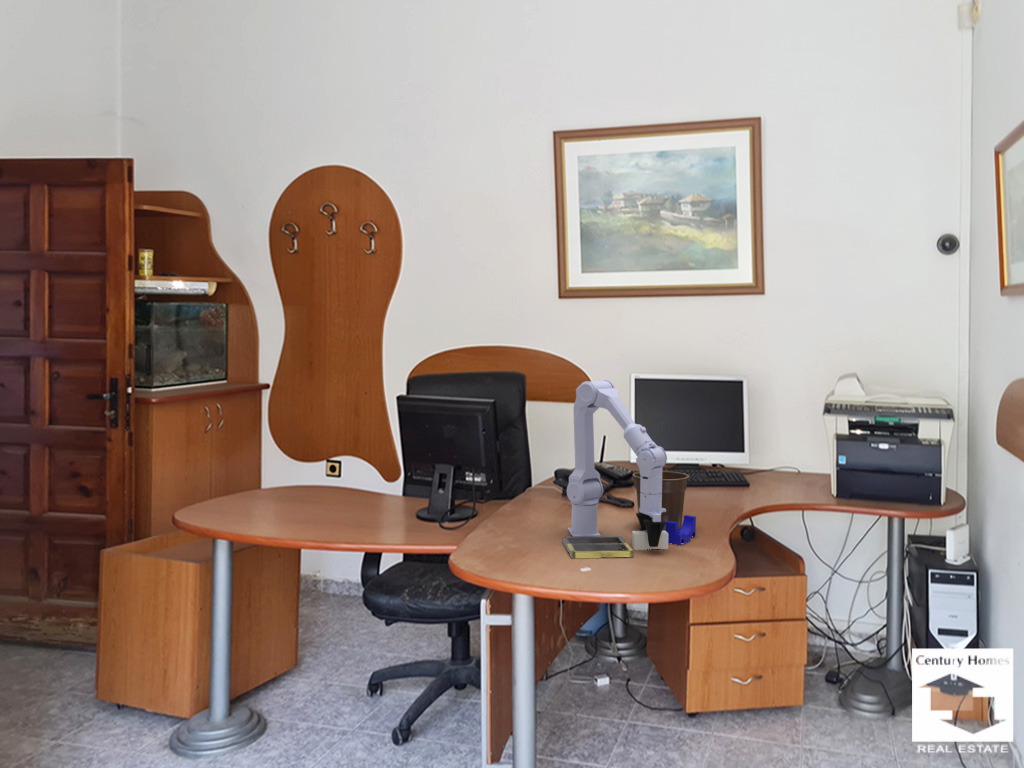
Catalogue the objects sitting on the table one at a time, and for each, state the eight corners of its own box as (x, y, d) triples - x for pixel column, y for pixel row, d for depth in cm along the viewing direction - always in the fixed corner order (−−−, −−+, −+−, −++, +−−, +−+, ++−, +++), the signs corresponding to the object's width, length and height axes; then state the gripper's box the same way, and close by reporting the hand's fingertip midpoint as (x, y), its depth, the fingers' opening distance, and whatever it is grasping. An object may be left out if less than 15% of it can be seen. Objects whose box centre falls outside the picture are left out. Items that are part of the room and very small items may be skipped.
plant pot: (622, 525, 264) (623, 471, 263) (670, 521, 269) (671, 469, 268) (647, 537, 248) (648, 480, 247) (698, 533, 253) (699, 477, 252)
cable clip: (679, 546, 239) (680, 524, 239) (665, 543, 242) (665, 521, 242) (700, 538, 248) (700, 517, 248) (685, 535, 251) (686, 514, 251)
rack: (562, 542, 242) (562, 535, 242) (620, 541, 243) (620, 535, 243) (571, 558, 225) (571, 551, 225) (633, 557, 226) (633, 550, 226)
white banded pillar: (631, 547, 237) (632, 530, 237) (664, 547, 238) (665, 530, 238) (634, 550, 234) (634, 533, 233) (668, 550, 234) (668, 533, 234)
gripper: (672, 497, 228) (671, 549, 229) (659, 487, 242) (658, 536, 243) (645, 497, 227) (644, 549, 228) (633, 487, 242) (633, 536, 243)
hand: (650, 543), depth 236 cm, fingers open, 7 cm apart
